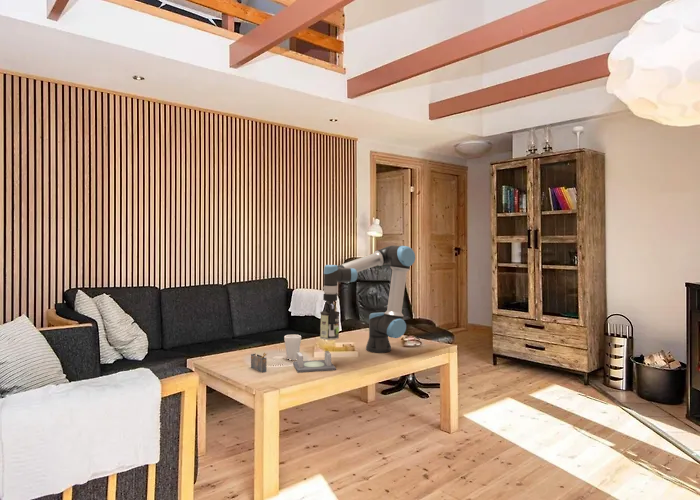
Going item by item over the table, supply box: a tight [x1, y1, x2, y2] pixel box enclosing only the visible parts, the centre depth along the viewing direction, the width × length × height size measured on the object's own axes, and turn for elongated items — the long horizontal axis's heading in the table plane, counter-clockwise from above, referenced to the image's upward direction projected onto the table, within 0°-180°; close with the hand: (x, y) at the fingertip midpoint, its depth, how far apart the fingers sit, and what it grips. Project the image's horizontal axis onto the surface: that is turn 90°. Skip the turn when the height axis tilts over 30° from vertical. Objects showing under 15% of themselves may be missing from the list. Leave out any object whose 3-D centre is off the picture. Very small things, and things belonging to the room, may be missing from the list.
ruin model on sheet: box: [250, 352, 267, 373], centre depth 250 cm, size 11×3×10 cm, turn 41°
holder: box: [292, 350, 337, 374], centre depth 256 cm, size 20×17×7 cm
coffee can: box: [319, 310, 340, 341], centre depth 260 cm, size 10×10×14 cm
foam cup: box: [283, 334, 302, 361], centre depth 271 cm, size 10×9×13 cm
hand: (329, 334), depth 260 cm, fingers closed on coffee can, 10 cm apart
